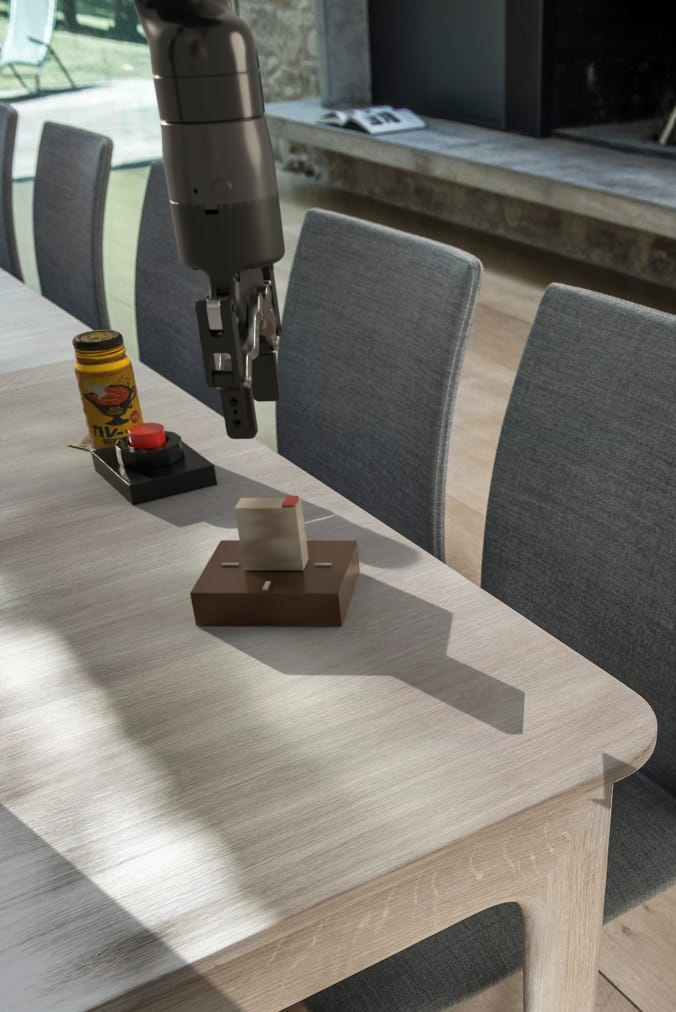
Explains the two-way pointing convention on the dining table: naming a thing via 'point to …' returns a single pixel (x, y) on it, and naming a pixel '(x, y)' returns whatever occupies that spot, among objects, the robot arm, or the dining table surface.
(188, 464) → the button box
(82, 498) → the dining table surface
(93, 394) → the condiment
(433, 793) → the dining table surface
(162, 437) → the button
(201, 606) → the brown flat block
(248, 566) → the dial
